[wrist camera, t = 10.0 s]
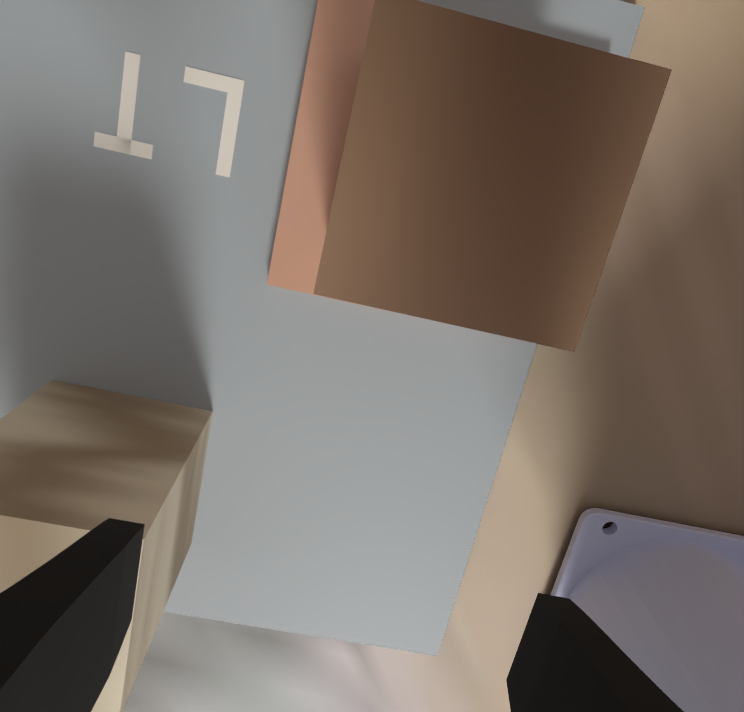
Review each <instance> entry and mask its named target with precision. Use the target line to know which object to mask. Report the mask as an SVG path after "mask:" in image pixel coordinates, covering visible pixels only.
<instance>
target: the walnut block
mask: <svg viewBox="0 0 744 712" xmlns="http://www.w3.org/2000/svg"><path fill="white" fill-rule="evenodd" d="M670 73H671V69H667V68H663V67H660V66H656V65H652V64H649V63H645V62H641V61H638V60H634V59H630V58H627V57H623V56H619V55H616V54H612V53H608V52H605V51H601V50H597V49H594V48H590V47H586V46H583V45H579V44H575V43H572V42H568V41H564V40H561V39H557V38H553V37H550V36H546V35H542V34H539V33H535V32H531V31H528V30H524V29H520V28H517V27H513V26H509V25H506V24H502V23H498V22H495V21H491V20H487V19H484V18H480V17H476V16H473V15H469V14H465V13H462V12H458V11H454V10H451V9H447V8H443V7H440V6H436V5H432V4H429V3H425V2H421V1H418V0H375V2H374V7H373V11H372V16H371V21H370V26H369V30H368V35H367V40H366V45H365V50H364V54H363V59H362V64H361V69H360V73H359V78H358V83H357V88H356V92H355V97H354V102H353V107H352V112H351V116H350V121H349V126H348V131H347V135H346V140H345V145H344V150H343V154H342V159H341V164H340V169H339V174H338V178H337V183H336V188H335V193H334V197H333V202H332V207H331V212H330V217H329V221H328V226H327V231H326V236H325V240H324V245H323V250H322V255H321V259H320V264H319V269H318V274H317V279H316V283H315V288H314V293H313V294H315V295H320V296H324V297H329V298H333V299H338V300H342V301H347V302H351V303H356V304H360V305H365V306H370V307H374V308H379V309H383V310H388V311H392V312H397V313H401V314H406V315H410V316H415V317H419V318H424V319H428V320H433V321H437V322H442V323H446V324H451V325H455V326H460V327H464V328H469V329H473V330H478V331H482V332H487V333H491V334H496V335H500V336H505V337H509V338H514V339H518V340H523V341H527V342H532V343H536V344H541V345H546V346H550V347H555V348H559V349H564V350H568V351H573V352H574V351H575V348H576V345H577V342H578V339H579V337H580V334H581V331H582V328H583V325H584V322H585V319H586V316H587V313H588V310H589V308H590V305H591V302H592V299H593V296H594V293H595V290H596V287H597V284H598V282H599V279H600V276H601V273H602V270H603V267H604V264H605V261H606V258H607V256H608V253H609V250H610V247H611V244H612V241H613V238H614V235H615V232H616V229H617V227H618V224H619V221H620V218H621V215H622V212H623V209H624V206H625V203H626V201H627V198H628V195H629V192H630V189H631V186H632V183H633V180H634V177H635V175H636V172H637V169H638V166H639V163H640V160H641V157H642V154H643V151H644V148H645V146H646V143H647V140H648V137H649V134H650V131H651V128H652V125H653V122H654V120H655V117H656V114H657V111H658V108H659V105H660V102H661V99H662V96H663V94H664V91H665V88H666V85H667V82H668V79H669V76H670Z"/></svg>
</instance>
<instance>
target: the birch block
mask: <svg viewBox="0 0 744 712" xmlns="http://www.w3.org/2000/svg"><path fill="white" fill-rule="evenodd" d="M212 415H213V411H209V410H204V409H199V408H194V407H189V406H184V405H179V404H173V403H168V402H163V401H158V400H153V399H148V398H143V397H137V396H132V395H127V394H122V393H117V392H112V391H107V390H101V389H96V388H91V387H86V386H81V385H76V384H70V383H65V382H60V381H55V380H51V381H50V382H49V383H47V384H46V385H45V386H44V387H42V388H41V389H40V390H38V391H37V392H36V393H34V394H33V395H32V396H30V397H29V398H28V399H26V400H25V401H24V402H22V403H21V404H20V405H18V406H17V407H16V408H14V409H13V410H12V411H10V412H9V413H8V414H6V415H5V416H4V417H2V418H1V419H0V593H1V592H3V591H4V590H6V589H7V588H9V587H10V586H12V585H14V584H15V583H16V582H18V581H19V580H21V579H22V578H24V577H25V576H27V575H28V574H30V573H31V572H33V571H34V570H36V569H37V568H39V567H40V566H42V565H43V564H45V563H46V562H48V561H49V560H50V559H52V558H53V557H55V556H56V555H57V554H59V553H60V552H62V551H63V550H64V549H66V548H67V547H69V546H70V545H71V544H73V543H74V542H76V541H77V540H78V539H80V538H81V537H82V536H84V535H85V534H87V533H88V532H89V531H91V530H92V529H93V528H95V527H96V526H98V525H99V524H100V523H102V522H104V521H105V520H107V519H108V518H112V519H118V520H124V521H130V522H135V523H141V524H145V526H144V533H143V540H142V547H141V555H140V562H139V569H138V577H137V584H136V591H135V599H134V606H133V613H132V620H131V623H130V625H129V628H128V630H127V633H126V636H125V638H124V641H123V643H122V646H121V649H120V651H119V654H118V656H117V659H116V661H115V664H114V666H113V669H112V671H111V674H110V676H109V678H108V680H107V682H106V684H105V686H104V688H103V690H102V692H101V694H100V695H99V697H98V699H97V701H96V703H95V705H94V707H93V709H92V711H91V712H122V711H123V708H124V706H125V704H126V701H127V699H128V696H129V694H130V691H131V689H132V687H133V684H134V682H135V679H136V677H137V674H138V672H139V670H140V667H141V665H142V662H143V660H144V657H145V655H146V653H147V650H148V648H149V645H150V643H151V640H152V638H153V636H154V633H155V631H156V628H157V626H158V623H159V621H160V619H161V616H162V614H163V611H164V609H165V606H166V604H167V602H168V599H169V597H170V594H171V592H172V589H173V587H174V585H175V582H176V580H177V577H178V575H179V572H180V570H181V568H182V565H183V563H184V560H185V558H186V555H187V553H188V551H189V548H190V546H191V543H192V536H193V530H194V524H195V518H196V512H197V506H198V500H199V494H200V488H201V482H202V476H203V469H204V463H205V457H206V451H207V445H208V439H209V433H210V427H211V421H212Z"/></svg>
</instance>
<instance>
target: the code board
mask: <svg viewBox="0 0 744 712" xmlns="http://www.w3.org/2000/svg"><path fill="white" fill-rule="evenodd" d="M418 1H421V2H425V3H429V4H432V5H436V6H440V7H443V8H447V9H451V10H454V11H458V12H462V13H465V14H469V15H473V16H476V17H480V18H484V19H487V20H491V21H495V22H498V23H502V24H506V25H509V26H513V27H517V28H520V29H524V30H528V31H531V32H535V33H539V34H542V35H546V36H550V37H553V38H557V39H561V40H564V41H568V42H572V43H575V44H579V45H583V46H586V47H590V48H594V49H597V50H601V51H605V52H608V53H612V54H616V55H619V56H623V57H627V58H629V55H630V52H631V49H632V46H633V43H634V39H635V36H636V33H637V30H638V27H639V24H640V21H641V18H642V14H643V11H644V8H645V7H642V6H638V5H635V4H631V3H628V2H624V1H620V0H418ZM317 3H318V0H0V419H1V418H2V417H4V416H5V415H6V414H8V413H9V412H10V411H12V410H13V409H14V408H16V407H17V406H18V405H20V404H21V403H22V402H24V401H25V400H26V399H28V398H29V397H30V396H32V395H33V394H34V393H36V392H37V391H38V390H40V389H41V388H42V387H44V386H45V385H46V384H47V383H49V382H50V381H51V380H55V381H60V382H65V383H70V384H76V385H81V386H86V387H91V388H96V389H101V390H107V391H112V392H117V393H122V394H127V395H132V396H137V397H143V398H148V399H153V400H158V401H163V402H168V403H173V404H179V405H184V406H189V407H194V408H199V409H204V410H209V411H213V415H212V421H211V427H210V433H209V439H208V445H207V451H206V457H205V463H204V469H203V476H202V482H201V488H200V494H199V500H198V506H197V512H196V518H195V524H194V530H193V536H192V543H191V546H190V548H189V551H188V553H187V555H186V558H185V560H184V563H183V565H182V568H181V570H180V572H179V575H178V577H177V580H176V582H175V585H174V587H173V589H172V592H171V594H170V597H169V599H168V602H167V604H166V606H165V609H164V611H163V612H168V613H174V614H180V615H186V616H193V617H199V618H205V619H211V620H217V621H223V622H230V623H236V624H242V625H248V626H254V627H260V628H267V629H273V630H279V631H285V632H291V633H297V634H304V635H310V636H316V637H322V638H328V639H334V640H341V641H347V642H353V643H359V644H365V645H371V646H378V647H384V648H390V649H396V650H402V651H408V652H414V653H421V654H427V655H433V656H438V653H439V650H440V646H441V643H442V640H443V637H444V634H445V631H446V628H447V625H448V621H449V618H450V615H451V612H452V609H453V606H454V603H455V600H456V596H457V593H458V590H459V587H460V584H461V581H462V578H463V574H464V571H465V568H466V565H467V562H468V559H469V556H470V553H471V549H472V546H473V543H474V540H475V537H476V534H477V531H478V528H479V524H480V521H481V518H482V515H483V512H484V509H485V506H486V503H487V499H488V496H489V493H490V490H491V487H492V484H493V481H494V477H495V474H496V471H497V468H498V465H499V462H500V459H501V456H502V452H503V449H504V446H505V443H506V440H507V437H508V434H509V431H510V427H511V424H512V421H513V418H514V415H515V412H516V409H517V406H518V402H519V399H520V396H521V393H522V390H523V387H524V384H525V380H526V377H527V374H528V371H529V368H530V365H531V362H532V359H533V355H534V352H535V349H536V346H537V344H536V343H532V342H527V341H523V340H518V339H514V338H509V337H505V336H500V335H496V334H491V333H487V332H482V331H478V330H473V329H469V328H464V327H460V326H455V325H451V324H446V323H442V322H437V321H433V320H428V319H424V318H419V317H414V316H410V315H405V314H401V313H396V312H391V311H387V310H382V309H377V308H373V307H368V306H363V305H359V304H354V303H350V302H345V301H340V300H336V299H331V298H326V297H322V296H317V295H312V294H308V293H303V292H298V291H294V290H289V289H285V288H280V287H275V286H271V285H267V281H268V275H269V269H270V264H271V258H272V253H273V247H274V242H275V236H276V231H277V225H278V219H279V214H280V208H281V203H282V197H283V192H284V186H285V181H286V175H287V169H288V164H289V158H290V153H291V147H292V142H293V136H294V131H295V125H296V119H297V114H298V108H299V103H300V97H301V92H302V86H303V81H304V75H305V69H306V64H307V58H308V53H309V47H310V42H311V36H312V31H313V25H314V19H315V14H316V8H317Z"/></svg>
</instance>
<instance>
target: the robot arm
mask: <svg viewBox="0 0 744 712" xmlns="http://www.w3.org/2000/svg"><path fill="white" fill-rule="evenodd" d="M607 522H613V523H612V525H611V526H610V527H608V528H602V527H603V526H604V524H605V523H607ZM144 526H145V524H141V523H135V522H130V521H124V520H118V519H112V518H108V519H107V520H105V521H104V522H102V523H100V524H99V525H98V526H96V527H95V528H93V529H92V530H91V531H89V532H88V533H87V534H85V535H84V536H82V537H81V538H80V539H78V540H77V541H76V542H74V543H73V544H71V545H70V546H69V547H67V548H66V549H64V550H63V551H62V552H60V553H59V554H57V555H56V556H55V557H53V558H52V559H50V560H49V561H48V562H46V563H45V564H43V565H42V566H40V567H39V568H37V569H36V570H34V571H33V572H31V573H30V574H28V575H27V576H25V577H24V578H22V579H21V580H19V581H18V582H16V583H15V584H14V585H12V586H10V587H9V588H7V589H6V590H4V591H3V592H1V593H0V712H91V711H92V709H93V707H94V705H95V703H96V701H97V699H98V697H99V695H100V694H101V692H102V690H103V688H104V686H105V684H106V682H107V680H108V678H109V676H110V674H111V671H112V669H113V666H114V664H115V661H116V659H117V656H118V654H119V651H120V649H121V646H122V643H123V641H124V638H125V636H126V633H127V630H128V628H129V625H130V623H131V620H132V613H133V606H134V599H135V591H136V584H137V577H138V569H139V562H140V555H141V547H142V540H143V533H144ZM507 687H508V694H509V701H510V708H511V712H744V536H741V535H736V534H731V533H726V532H720V531H715V530H710V529H705V528H699V527H694V526H689V525H684V524H678V523H673V522H668V521H663V520H657V519H652V518H647V517H642V516H636V515H631V514H626V513H621V512H615V511H610V510H605V509H600V508H590V509H587V510H585V511H584V512H583V513H582V514H581V516H580V517H579V519H578V522H577V525H576V528H575V530H574V533H573V536H572V538H571V541H570V544H569V546H568V549H567V552H566V554H565V557H564V560H563V562H562V565H561V568H560V570H559V573H558V576H557V578H556V581H555V584H554V587H553V589H552V592H551V595H547V594H541V593H538V595H537V598H536V600H535V603H534V606H533V609H532V611H531V614H530V617H529V620H528V622H527V625H526V628H525V631H524V633H523V636H522V639H521V642H520V644H519V647H518V650H517V652H516V655H515V658H514V661H513V663H512V666H511V669H510V672H509V674H508V677H507Z"/></svg>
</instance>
